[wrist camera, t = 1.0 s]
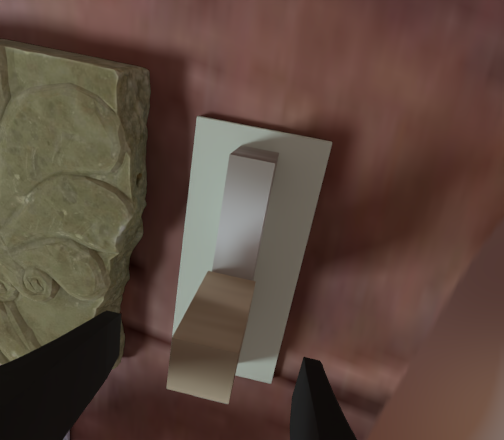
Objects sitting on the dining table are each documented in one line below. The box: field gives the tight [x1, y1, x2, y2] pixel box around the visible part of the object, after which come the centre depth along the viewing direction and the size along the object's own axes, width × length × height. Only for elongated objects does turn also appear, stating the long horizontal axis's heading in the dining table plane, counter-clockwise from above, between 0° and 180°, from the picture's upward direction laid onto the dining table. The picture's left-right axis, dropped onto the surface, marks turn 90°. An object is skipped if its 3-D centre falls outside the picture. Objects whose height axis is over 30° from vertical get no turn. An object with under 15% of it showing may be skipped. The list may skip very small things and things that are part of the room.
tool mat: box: [170, 116, 332, 384], centre depth 20 cm, size 16×7×1 cm, turn 170°
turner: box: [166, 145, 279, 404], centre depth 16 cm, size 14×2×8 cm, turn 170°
